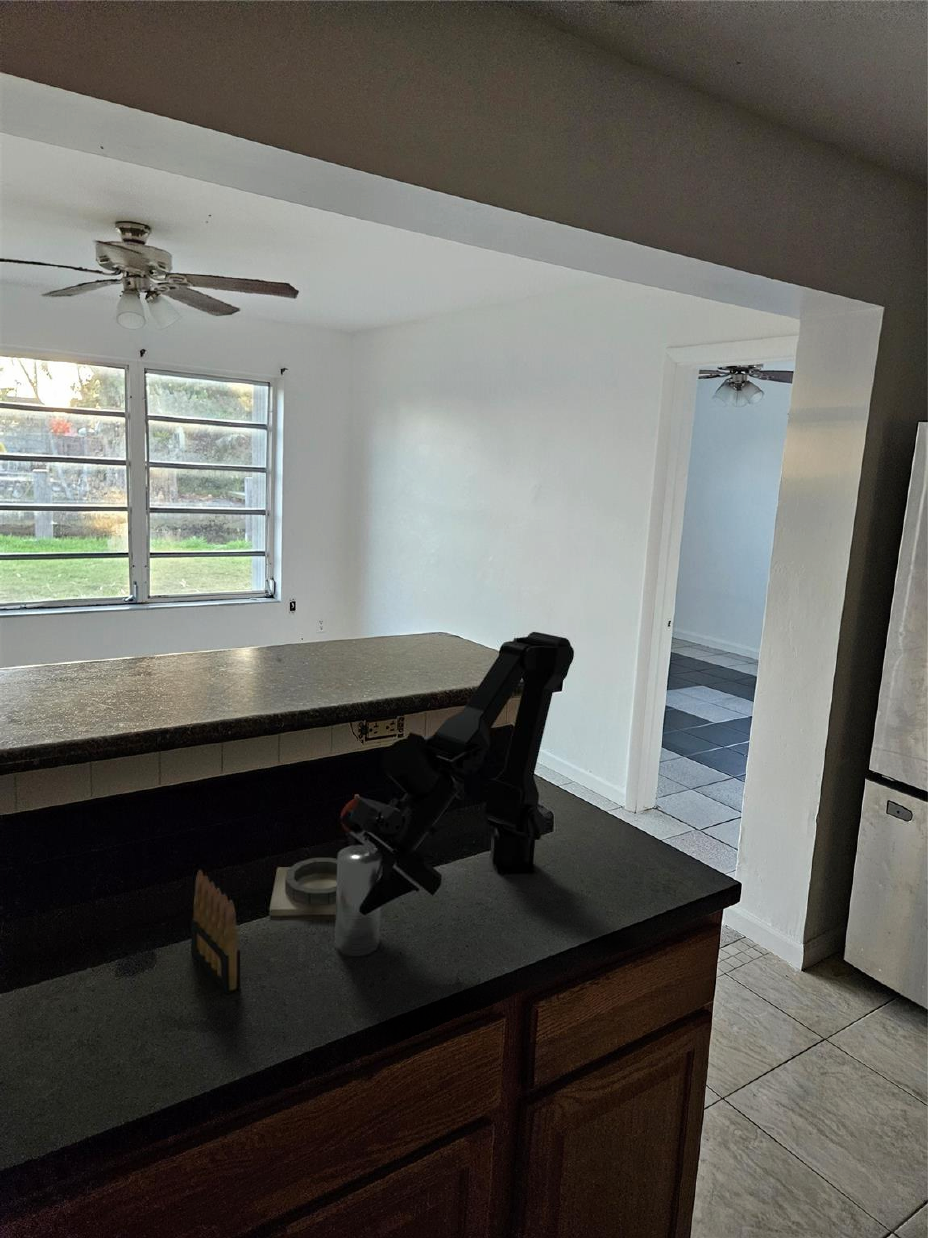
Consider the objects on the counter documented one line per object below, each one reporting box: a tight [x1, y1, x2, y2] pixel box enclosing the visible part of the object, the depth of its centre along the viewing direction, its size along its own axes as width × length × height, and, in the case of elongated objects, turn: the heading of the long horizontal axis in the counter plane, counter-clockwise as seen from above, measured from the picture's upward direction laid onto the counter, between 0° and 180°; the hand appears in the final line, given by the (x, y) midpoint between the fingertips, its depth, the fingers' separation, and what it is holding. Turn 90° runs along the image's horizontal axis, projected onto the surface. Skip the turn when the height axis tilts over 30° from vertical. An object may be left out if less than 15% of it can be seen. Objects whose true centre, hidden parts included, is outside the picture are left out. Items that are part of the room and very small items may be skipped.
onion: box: [340, 793, 361, 833], centre depth 137 cm, size 6×6×8 cm
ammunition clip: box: [190, 869, 241, 995], centre depth 99 cm, size 11×2×12 cm, turn 42°
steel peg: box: [334, 845, 384, 957], centre depth 107 cm, size 6×6×13 cm
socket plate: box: [268, 857, 337, 917], centre depth 119 cm, size 14×12×3 cm
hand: (349, 902), depth 106 cm, fingers closed on steel peg, 6 cm apart
